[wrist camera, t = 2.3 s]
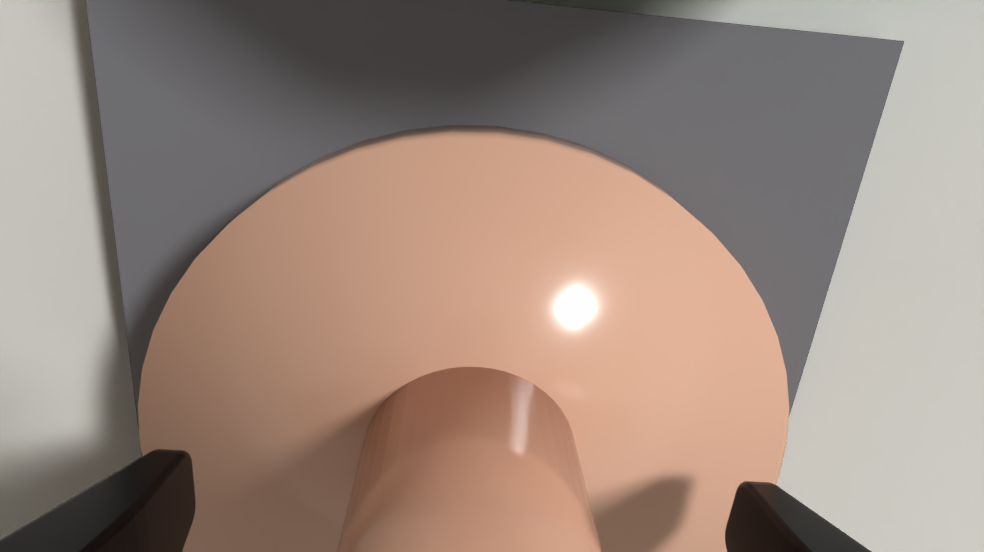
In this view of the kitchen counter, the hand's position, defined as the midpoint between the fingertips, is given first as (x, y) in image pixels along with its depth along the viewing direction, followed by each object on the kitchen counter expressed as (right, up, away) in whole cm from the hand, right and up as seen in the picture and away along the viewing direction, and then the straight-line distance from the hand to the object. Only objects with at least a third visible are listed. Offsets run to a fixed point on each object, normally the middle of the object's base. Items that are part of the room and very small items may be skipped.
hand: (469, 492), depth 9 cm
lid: (0, +1, +2) cm, 2 cm away
